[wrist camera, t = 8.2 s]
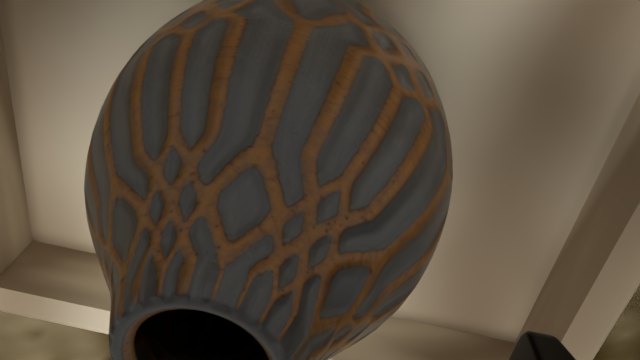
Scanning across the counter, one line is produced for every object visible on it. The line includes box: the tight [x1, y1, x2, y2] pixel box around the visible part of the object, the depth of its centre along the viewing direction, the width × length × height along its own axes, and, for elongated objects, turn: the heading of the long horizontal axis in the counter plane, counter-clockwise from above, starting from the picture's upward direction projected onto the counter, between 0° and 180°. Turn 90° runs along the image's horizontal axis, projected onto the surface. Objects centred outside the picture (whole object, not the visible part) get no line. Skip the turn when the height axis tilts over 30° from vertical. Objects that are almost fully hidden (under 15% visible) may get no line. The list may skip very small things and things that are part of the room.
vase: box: [84, 0, 453, 360], centre depth 11 cm, size 7×7×9 cm
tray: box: [0, 0, 640, 360], centre depth 14 cm, size 18×16×3 cm
